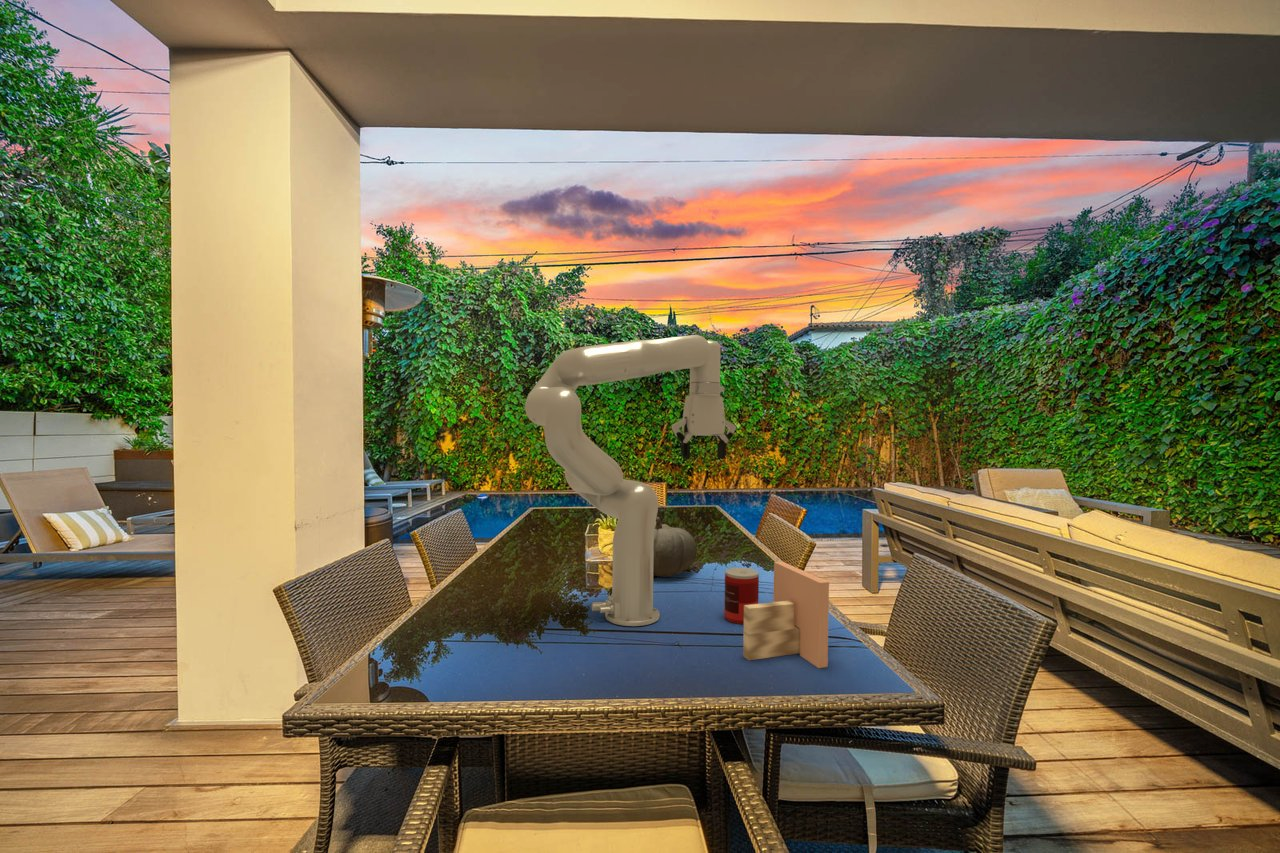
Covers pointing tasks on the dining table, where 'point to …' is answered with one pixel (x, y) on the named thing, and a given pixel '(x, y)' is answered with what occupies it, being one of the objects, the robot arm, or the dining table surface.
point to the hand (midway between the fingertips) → (703, 458)
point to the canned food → (740, 592)
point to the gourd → (672, 550)
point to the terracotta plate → (806, 609)
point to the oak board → (770, 630)
